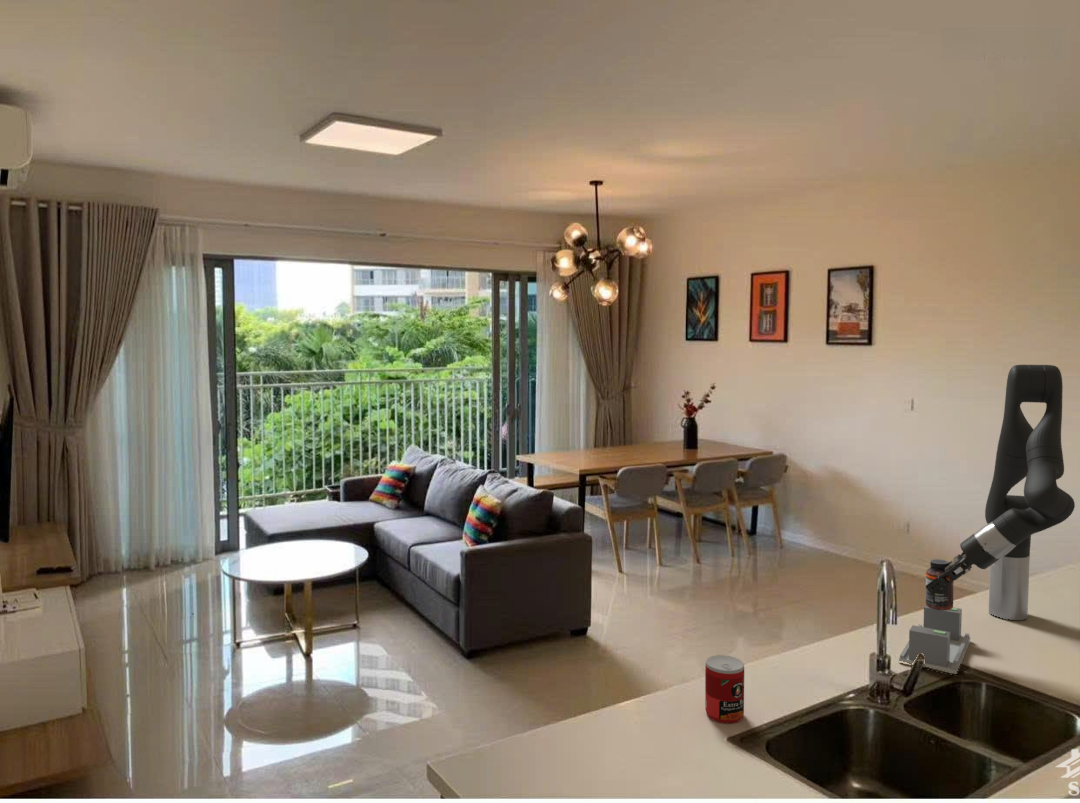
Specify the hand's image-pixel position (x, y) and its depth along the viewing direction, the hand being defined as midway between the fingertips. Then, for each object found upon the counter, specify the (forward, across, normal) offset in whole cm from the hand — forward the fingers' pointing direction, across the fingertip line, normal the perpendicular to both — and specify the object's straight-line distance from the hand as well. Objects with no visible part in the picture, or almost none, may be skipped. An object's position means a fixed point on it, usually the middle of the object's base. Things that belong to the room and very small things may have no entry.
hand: (931, 586), depth 189 cm
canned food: (+32, +59, -9) cm, 68 cm away
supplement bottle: (+2, 0, +5) cm, 5 cm away
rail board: (+10, 0, +12) cm, 16 cm away
